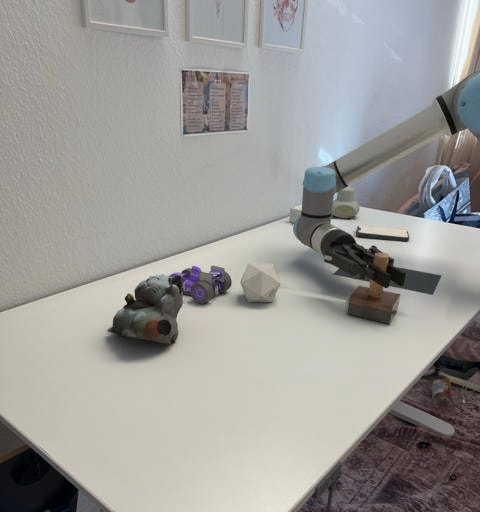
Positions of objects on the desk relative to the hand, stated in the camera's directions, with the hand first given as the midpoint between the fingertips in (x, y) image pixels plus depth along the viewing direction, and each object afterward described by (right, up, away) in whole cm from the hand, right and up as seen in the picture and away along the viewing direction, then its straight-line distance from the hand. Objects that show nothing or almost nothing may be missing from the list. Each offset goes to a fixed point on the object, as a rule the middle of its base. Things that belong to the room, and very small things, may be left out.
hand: (395, 280), depth 93 cm
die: (-26, -3, +14) cm, 30 cm away
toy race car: (-41, -1, +18) cm, 45 cm away
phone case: (+15, +19, +60) cm, 64 cm away
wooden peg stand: (-2, -6, +9) cm, 11 cm away
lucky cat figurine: (-48, -11, -1) cm, 49 cm away
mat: (+7, +3, +27) cm, 28 cm away
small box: (-8, +26, +72) cm, 77 cm away
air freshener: (+7, +30, +80) cm, 85 cm away
